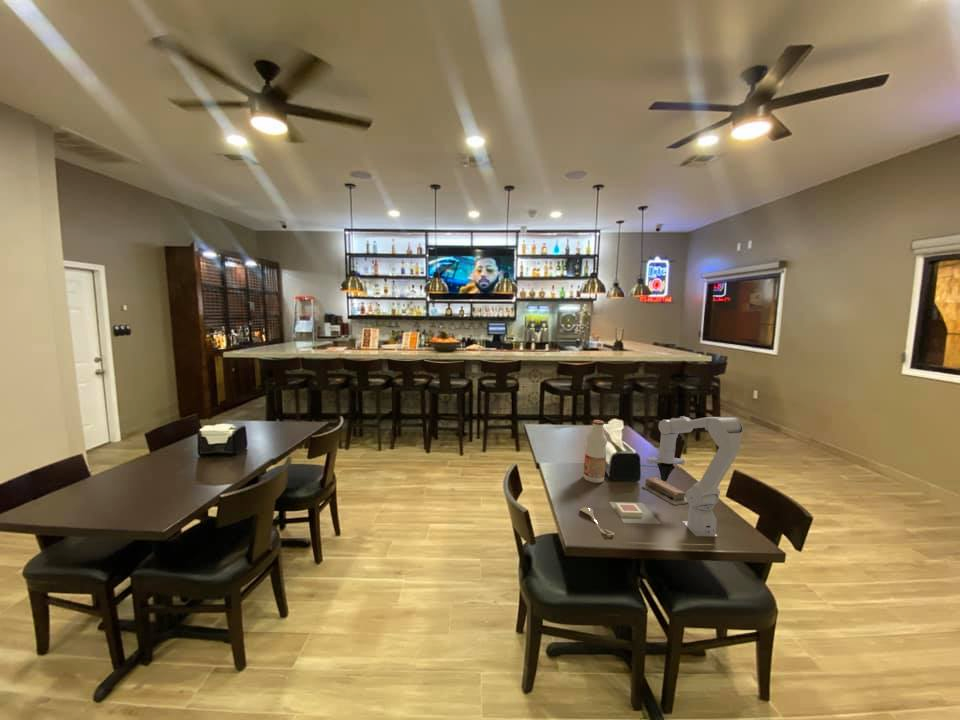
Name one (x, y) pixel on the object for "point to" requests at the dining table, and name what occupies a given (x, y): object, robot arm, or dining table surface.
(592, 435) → the fruit juice
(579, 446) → the dining table surface
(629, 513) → the deck
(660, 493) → the packaged product
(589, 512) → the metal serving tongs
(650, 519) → the mat
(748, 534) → the dining table surface
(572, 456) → the dining table surface
